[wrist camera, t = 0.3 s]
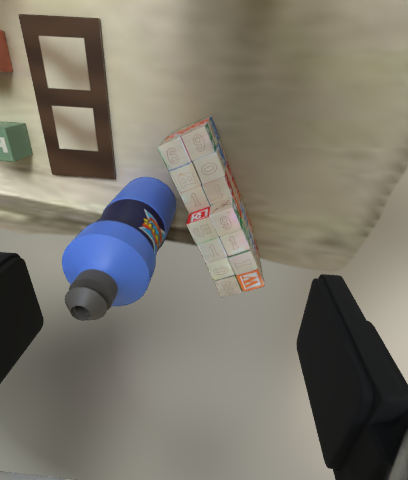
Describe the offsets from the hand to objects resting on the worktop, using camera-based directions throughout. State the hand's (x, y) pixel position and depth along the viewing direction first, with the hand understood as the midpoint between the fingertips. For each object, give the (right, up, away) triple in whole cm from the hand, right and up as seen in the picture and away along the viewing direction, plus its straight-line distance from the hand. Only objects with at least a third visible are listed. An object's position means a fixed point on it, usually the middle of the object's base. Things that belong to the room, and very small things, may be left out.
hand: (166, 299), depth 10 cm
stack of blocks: (+3, +10, +36) cm, 37 cm away
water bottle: (-8, +8, +38) cm, 39 cm away
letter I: (-27, +17, +34) cm, 47 cm away
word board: (-17, +21, +31) cm, 41 cm away
